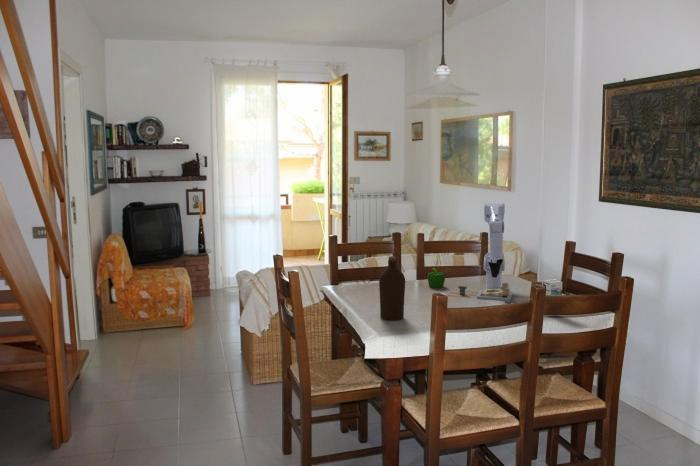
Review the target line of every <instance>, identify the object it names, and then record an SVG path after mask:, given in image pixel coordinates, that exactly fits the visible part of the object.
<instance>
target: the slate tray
mask: <svg viewBox="0 0 700 466" xmlns="http://www.w3.org/2000/svg"><path fill="white" fill-rule="evenodd" d="M483 291H484V289H480V290H479V292H478V293H477V294H476V299H477V300H478V299H479V300H491V301H492V300H493V301H504V303H506V304H510V302H511V299H512V298H513V291H509V295H508V296H506V297H504V296H503V297H489V296H482V292H483Z"/></svg>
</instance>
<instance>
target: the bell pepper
mask: <svg viewBox="0 0 700 466" xmlns="http://www.w3.org/2000/svg"><path fill="white" fill-rule="evenodd" d="M431 270H432V271H431V272H428V273H427V283H428V286H429V288H432V289H442V288H443V287H444V285H445V282H446V273H444V272H441V271H438V270H437V269H436V268H435V267H433V268H431Z"/></svg>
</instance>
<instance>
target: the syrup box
mask: <svg viewBox="0 0 700 466" xmlns="http://www.w3.org/2000/svg"><path fill="white" fill-rule="evenodd" d="M543 283H544V284H545V285H546V295H562V296H563V281H562V280H560V279H555V278H554V279H542V284H543Z"/></svg>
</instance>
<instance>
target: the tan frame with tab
mask: <svg viewBox="0 0 700 466" xmlns="http://www.w3.org/2000/svg"><path fill="white" fill-rule="evenodd" d="M483 290H484V291H483V292H482V295H481V296H489V297H503V298H504V296H506V297H507V296H508V295H509V292H510V289H509V282H501V289H487V288H485V289H483Z"/></svg>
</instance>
